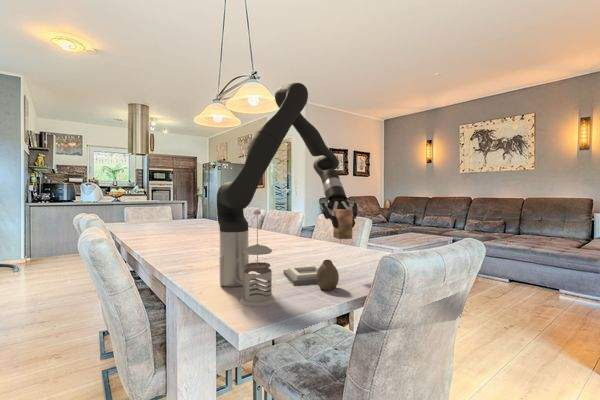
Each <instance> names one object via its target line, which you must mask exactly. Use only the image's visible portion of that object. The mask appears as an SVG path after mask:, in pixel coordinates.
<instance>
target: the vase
mask: <svg viewBox="0 0 600 400" xmlns="http://www.w3.org/2000/svg"><path fill="white" fill-rule="evenodd" d="M332 261H333V260H331V259H323V262H322V263H321V264H320V266H319V269H318V271H317V275H316V279H317V283H316V284H317V285H318V287H319V288H320V290H323V291H333V290H334V289H335V288H336V287H337V286H338V285H339V280H340V279H339V270H338V269H337V267H336V266H335V264H333V262H332Z"/></svg>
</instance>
